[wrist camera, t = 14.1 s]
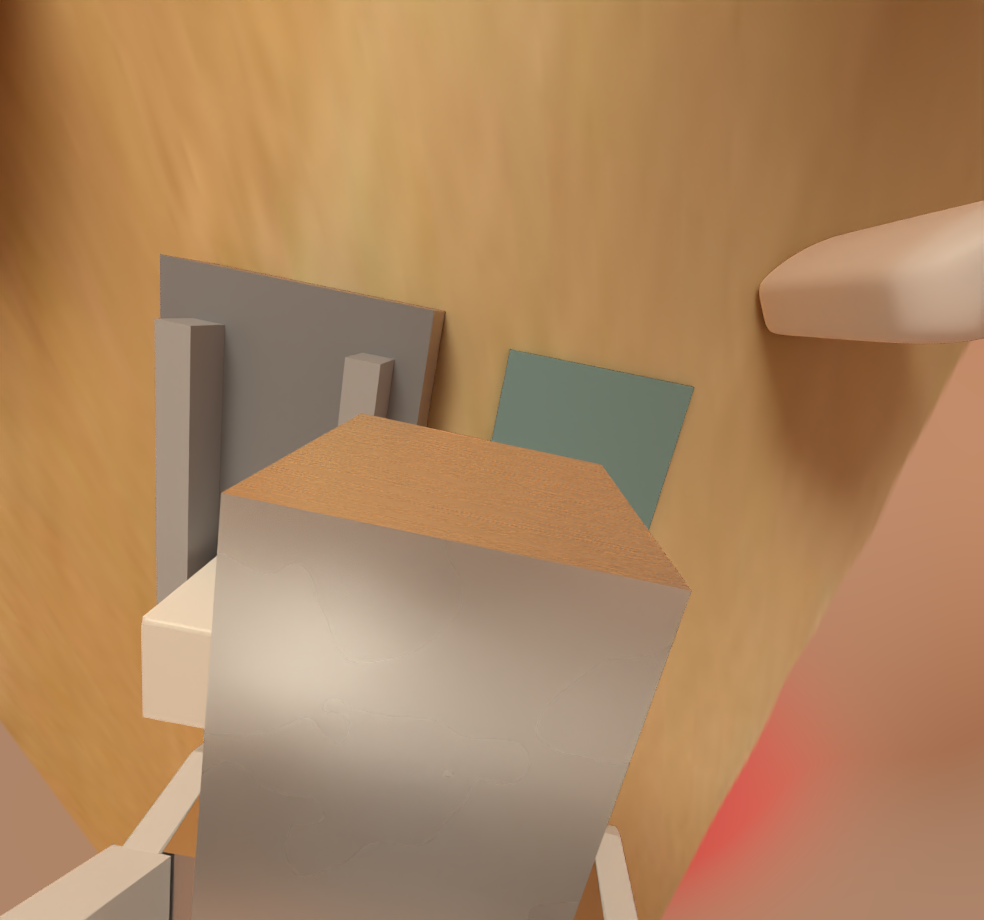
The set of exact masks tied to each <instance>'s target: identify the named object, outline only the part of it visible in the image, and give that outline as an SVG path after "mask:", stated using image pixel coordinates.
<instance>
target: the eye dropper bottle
mask: <svg viewBox="0 0 984 920" xmlns="http://www.w3.org/2000/svg"><path fill="white" fill-rule="evenodd" d="M759 297H760V302H761V307H762V311H763V316H764V320H765V324H766V326H767V328H768V330H769V331H771V332H773V333H775V334H780V335H790V336H803V337H816V338H829V339H843V340H857V341H871V342H888V343H908V344H942V343H955V342H964V341H972V340H977V339H983V338H984V200H983V201H979V202H974V203H970V204H966V205H962V206H958V207H954V208H949V209H945V210H941V211H937V212H933V213H929V214H924V215H920V216H916V217H912V218H908V219H904V220H899V221H895V222H891V223H887V224H883V225H879V226H875V227H870V228H866V229H862V230H858V231H854V232H850V233H846V234H842V235H838V236H835V237H832V238H829V239H826V240H823V241H821V242H818V243H816V244H814V245H812V246H810V247H807V248H806V249H804V250H802V251H800V252H798V253H797V254H795V255H793V256H792V257H790V258H789V259H787V260H786V261H784V262H783V263H782V264H780V265H779V266H778V267H776V268H775V269H774V270H773V271H772V272H771V273H769V274H768V275H767V276H766V277H765V278H764V279H763V281H762V283H761V284H760V287H759Z"/></svg>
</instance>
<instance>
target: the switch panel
mask: <svg viewBox="0 0 984 920" xmlns="http://www.w3.org/2000/svg"><path fill="white" fill-rule="evenodd" d="M160 315H161V319H155V424H156V556H157V605H158V604H159V603H160V602H161V601H162V600H164V599H165V598H166V597H167V596H169V595H170V594H171V593H172V592H173V591H175V590H176V589H177V588H178V587H180V586H181V585H182V584H183V583H184V582H186V581H187V580H188V579H189V578H191V577H192V576H193V575H194V574H195V573H197V572H198V571H199V570H200V569H202V568H203V567H204V566H205V565H206V564H208V563H209V562H210V561H211V560H212V559H214V558H215V557H216V556H217V546H218V532H219V518H220V504H221V493H222V492H224V491H225V490H227V489H229V488H231V487H232V486H234V485H236V484H238V483H239V482H241V481H243V480H245V479H246V478H248V477H250V476H252V475H253V474H255V473H257V472H259V471H260V470H262V469H264V468H266V467H268V466H269V465H271V464H273V463H275V462H276V461H278V460H280V459H282V458H283V457H285V456H287V455H289V454H290V453H292V452H294V451H296V450H297V449H299V448H301V447H303V446H304V445H306V444H308V443H310V442H311V441H313V440H315V439H317V438H318V437H320V436H322V435H324V434H326V433H327V432H329V431H331V430H333V429H334V428H336V427H338V426H340V425H341V424H343V423H345V422H347V421H348V420H350V419H352V418H354V417H355V416H357V415H359V414H361V413H363V414H368V415H373V416H377V417H382V418H387V419H391V420H396V421H400V422H405V423H410V424H414V425H419V426H424V427H427V422H428V415H429V409H430V403H431V397H432V390H433V384H434V378H435V372H436V366H437V359H438V353H439V347H440V341H441V335H442V328H443V322H444V316H445V311H442V310H437V309H432V308H427V307H423V306H418V305H413V304H408V303H403V302H398V301H393V300H388V299H384V298H379V297H374V296H369V295H364V294H359V293H354V292H350V291H345V290H340V289H335V288H330V287H325V286H320V285H315V284H311V283H306V282H301V281H296V280H291V279H286V278H281V277H277V276H272V275H267V274H262V273H257V272H252V271H247V270H242V269H238V268H233V267H228V266H223V265H218V264H213V263H208V262H202V261H196V260H190V259H185V258H179V257H173V256H167V255H161V254H160Z"/></svg>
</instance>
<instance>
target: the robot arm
mask: <svg viewBox="0 0 984 920" xmlns="http://www.w3.org/2000/svg"><path fill="white" fill-rule="evenodd" d="M202 759H203V744H201V745H200V746H199V747H198V748H196V749H195V750H194V751H193V752H192V753H191V754H190V755H189V756H188V758H187V759H186V760H185V762H184V763H183V765H182V766H181V767H180V769H179V770H178V771H177V773H176V774H175V775H174V777H173V778H172V780H171V781H170V782H169V784H168V785H167V786H166V788H165V789H164V790H163V792H162V793H161V794H160V796H159V797H158V799H157V800H156V801H155V803H154V804H153V805H152V807H151V808H150V809H149V811H148V812H147V814H146V815H145V816H144V818H143V819H142V820H141V822H140V823H139V824H138V826H137V827H136V828H135V830H134V831H133V833H132V834H131V835H130V837H129V838H128V839H127V841H126V842H125V843H124V845H123V846H120V845H113V844H112V845H111V846H109V847H108V848H106V849H105V850H103V851H101V852H100V853H98V854H97V855H95V856H94V857H92V858H90V859H89V860H87V861H86V862H84V863H83V864H81V865H80V866H78V867H76V868H75V869H73V870H72V871H70V872H69V873H67V874H65V875H64V876H62V877H61V878H59V879H58V880H56V881H54V882H53V883H52V884H50V885H48V886H47V887H45V888H44V889H42V890H40V891H39V892H37V893H36V894H34V895H33V896H31V897H29V898H28V899H26V900H25V901H23V902H22V903H20V904H19V905H17V906H15V907H14V908H12V909H11V910H9V911H8V912H6V913H5V914H3V915H1V916H0V920H191V915H192V901H193V887H194V873H195V858H196V844H197V830H198V816H199V802H200V787H201V773H202ZM573 920H638V915H637V911H636V906H635V901H634V897H633V892H632V887H631V883H630V878H629V873H628V869H627V864H626V860H625V855H624V850H623V846H622V841H621V836H620V833H619V831H618V829H617V828H616V826H613V825H607V827H606V830H605V833H604V836H603V839H602V841H601V844H600V847H599V850H598V852H597V855H596V858H595V861H594V864H593V866H592V869H591V872H590V875H589V878H588V880H587V883H586V886H585V889H584V891H583V894H582V897H581V900H580V903H579V905H578V908H577V911H576V914H575V916H574V919H573Z"/></svg>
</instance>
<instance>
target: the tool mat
mask: <svg viewBox="0 0 984 920" xmlns="http://www.w3.org/2000/svg"><path fill="white" fill-rule="evenodd" d="M693 390H694V387H692V386H688V385H683V384H678V383H673V382H668V381H663V380H658V379H653V378H648V377H643V376H639V375H634V374H629V373H624V372H619V371H614V370H609V369H604V368H599V367H595V366H590V365H585V364H580V363H575V362H570V361H565V360H560V359H555V358H551V357H546V356H541V355H536V354H531V353H526V352H521V351H516V350H511V349H510V353H509V357H508V362H507V367H506V372H505V377H504V382H503V387H502V392H501V397H500V402H499V407H498V412H497V417H496V421H495V426H494V431H493V436H492V441H494V442H498V443H503V444H508V445H512V446H517V447H522V448H526V449H531V450H536V451H540V452H545V453H550V454H554V455H559V456H564V457H568V458H573V459H578V460H582V461H587V462H592V463H596V464H601V465H602V466H603V467H604V469H605V470H606V471H607V473H608V474H609V476H610V477H611V479H612V480H613V481H614V483H615V484H616V486H617V487H618V488H619V490H620V491H621V493H622V494H623V495H624V497H625V498H626V500H627V501H628V502H629V504H630V505H631V507H632V508H633V509H634V511H635V512H636V514H637V515H638V516H639V518H640V519H641V521H642V522H643V523H644V525H645V526H646V528H647V529H648V530H649V527H650V524H651V521H652V518H653V515H654V512H655V509H656V505H657V502H658V499H659V496H660V493H661V490H662V487H663V484H664V480H665V477H666V474H667V471H668V468H669V465H670V462H671V459H672V455H673V452H674V449H675V446H676V443H677V440H678V437H679V433H680V430H681V427H682V424H683V421H684V418H685V415H686V412H687V408H688V405H689V402H690V399H691V396H692V393H693Z"/></svg>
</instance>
